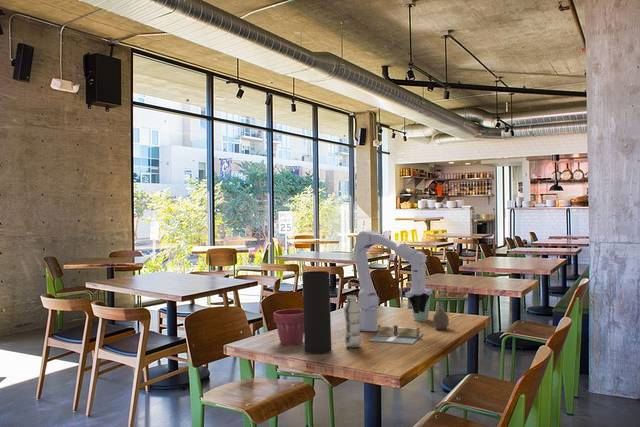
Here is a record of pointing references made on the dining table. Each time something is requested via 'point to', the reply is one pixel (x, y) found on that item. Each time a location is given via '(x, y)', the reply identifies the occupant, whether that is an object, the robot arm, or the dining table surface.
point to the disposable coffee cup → (422, 315)
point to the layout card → (395, 339)
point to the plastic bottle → (352, 322)
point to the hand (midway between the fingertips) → (419, 312)
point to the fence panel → (409, 331)
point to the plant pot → (290, 325)
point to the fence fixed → (387, 330)
